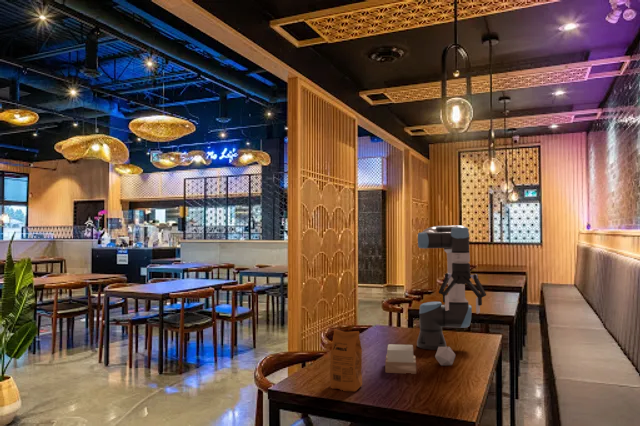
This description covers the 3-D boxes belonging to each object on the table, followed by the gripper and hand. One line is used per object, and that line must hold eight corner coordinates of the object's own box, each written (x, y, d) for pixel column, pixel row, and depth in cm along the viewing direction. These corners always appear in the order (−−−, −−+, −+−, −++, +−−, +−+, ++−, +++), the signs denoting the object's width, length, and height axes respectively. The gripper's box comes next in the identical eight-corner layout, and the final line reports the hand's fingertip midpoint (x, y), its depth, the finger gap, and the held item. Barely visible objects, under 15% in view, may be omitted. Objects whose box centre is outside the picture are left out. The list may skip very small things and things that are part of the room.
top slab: (388, 355, 204) (388, 344, 204) (413, 356, 202) (412, 344, 202) (387, 361, 193) (387, 349, 194) (413, 362, 191) (413, 350, 192)
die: (452, 369, 198) (460, 350, 201) (434, 359, 200) (443, 340, 203) (447, 371, 205) (455, 352, 209) (430, 361, 207) (438, 342, 211)
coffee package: (337, 381, 181) (337, 326, 183) (365, 386, 175) (364, 329, 176) (325, 388, 173) (325, 331, 174) (354, 393, 167) (353, 334, 168)
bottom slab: (386, 365, 205) (386, 354, 206) (415, 366, 203) (415, 355, 203) (385, 373, 193) (385, 362, 193) (416, 375, 190) (416, 363, 190)
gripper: (430, 262, 199) (431, 310, 198) (487, 263, 184) (489, 315, 183) (437, 261, 205) (438, 307, 204) (492, 262, 190) (494, 313, 189)
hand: (462, 311), depth 194 cm, fingers open, 13 cm apart
